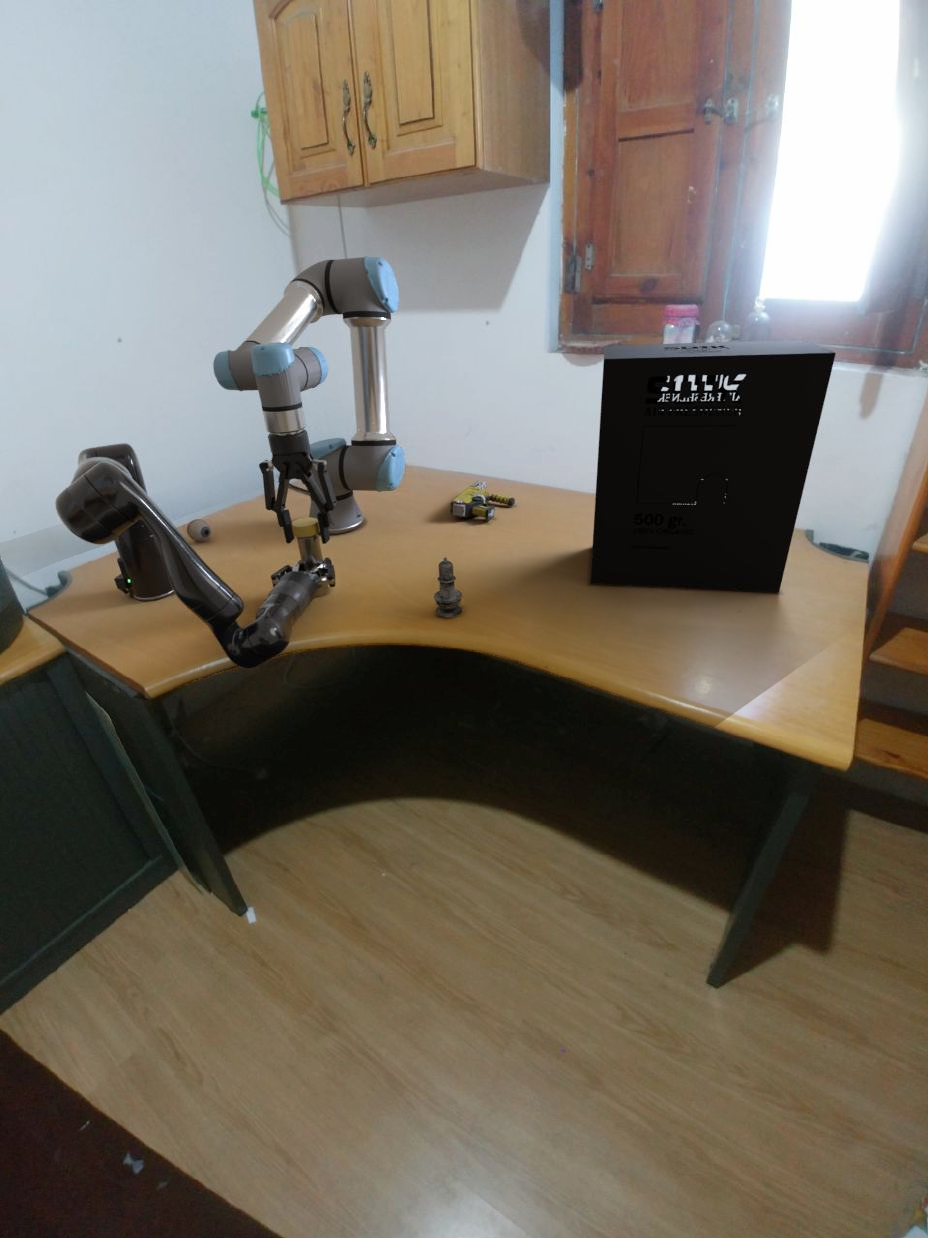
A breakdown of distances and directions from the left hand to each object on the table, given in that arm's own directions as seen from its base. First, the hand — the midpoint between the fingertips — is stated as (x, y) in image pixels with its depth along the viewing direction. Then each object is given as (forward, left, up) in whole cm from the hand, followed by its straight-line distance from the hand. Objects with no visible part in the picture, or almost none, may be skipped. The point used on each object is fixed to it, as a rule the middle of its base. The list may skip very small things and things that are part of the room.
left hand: (317, 561), depth 133 cm
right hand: (0, -3, +6) cm, 7 cm away
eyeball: (-42, +27, -6) cm, 50 cm away
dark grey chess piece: (+30, -11, -6) cm, 33 cm away
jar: (0, -3, -6) cm, 7 cm away
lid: (0, -3, +10) cm, 10 cm away
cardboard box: (+80, +9, -6) cm, 80 cm away
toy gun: (+34, +50, -6) cm, 61 cm away
